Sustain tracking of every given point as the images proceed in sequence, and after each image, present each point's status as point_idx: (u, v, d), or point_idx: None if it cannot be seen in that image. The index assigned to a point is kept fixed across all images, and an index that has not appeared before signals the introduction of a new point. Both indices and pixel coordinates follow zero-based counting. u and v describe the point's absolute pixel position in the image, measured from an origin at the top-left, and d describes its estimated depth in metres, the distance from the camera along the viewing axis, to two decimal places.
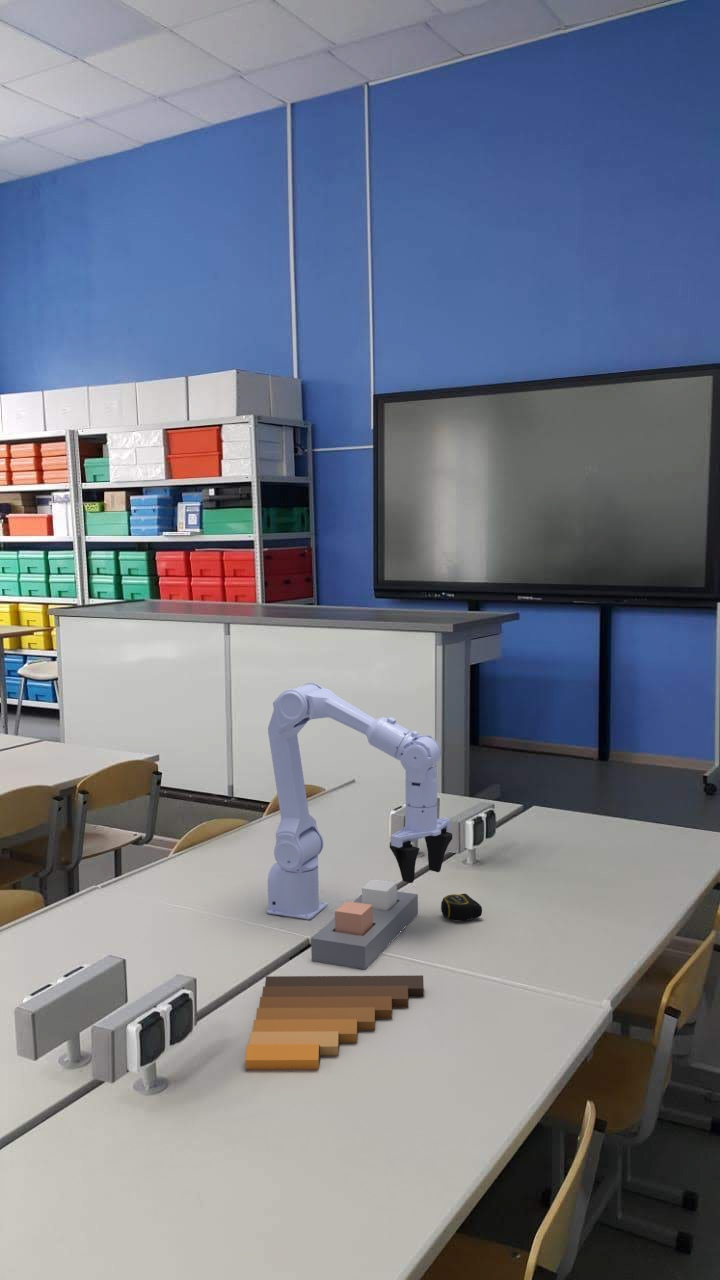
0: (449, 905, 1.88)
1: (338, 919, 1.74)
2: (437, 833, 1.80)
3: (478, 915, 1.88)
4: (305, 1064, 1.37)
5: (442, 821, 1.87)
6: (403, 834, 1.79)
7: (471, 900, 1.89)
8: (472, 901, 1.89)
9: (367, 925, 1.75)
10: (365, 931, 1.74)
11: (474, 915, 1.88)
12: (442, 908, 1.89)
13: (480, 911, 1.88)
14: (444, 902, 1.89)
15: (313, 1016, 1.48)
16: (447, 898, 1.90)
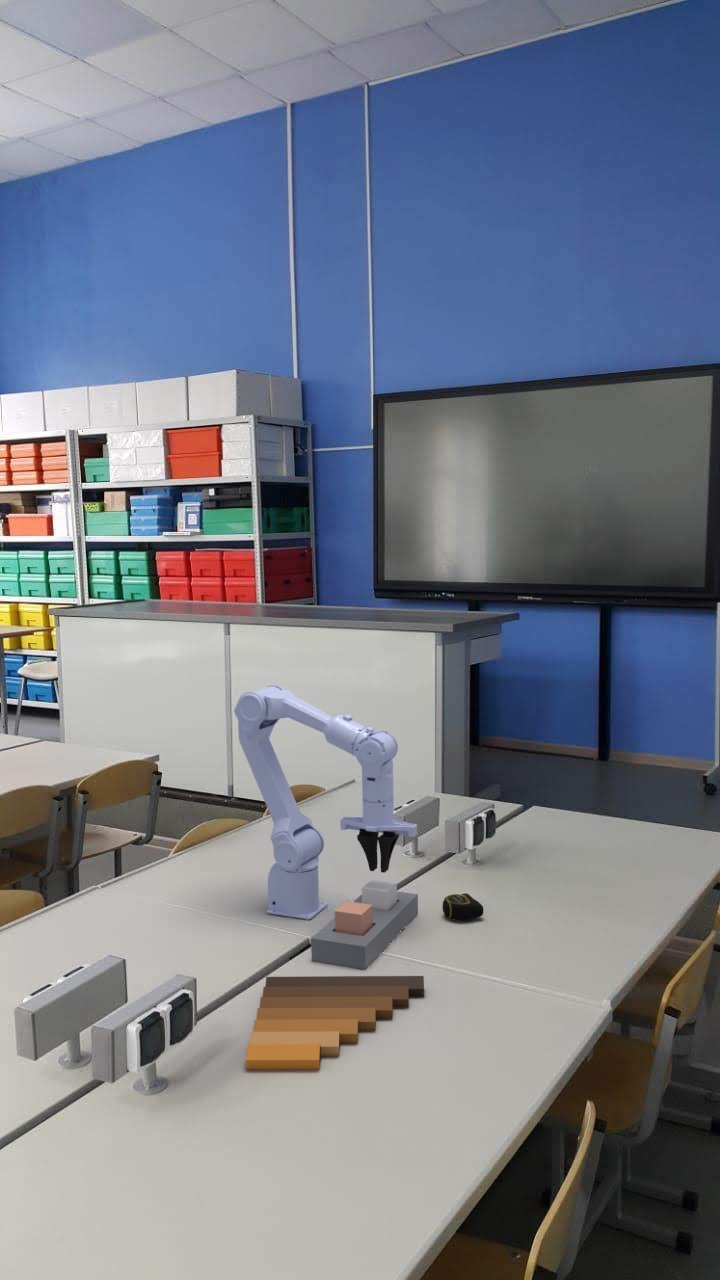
0: (450, 904, 1.88)
1: (338, 919, 1.74)
2: (368, 829, 1.82)
3: (479, 915, 1.88)
4: (306, 1064, 1.37)
5: None
6: (352, 819, 1.87)
7: (472, 900, 1.89)
8: (474, 901, 1.89)
9: (367, 925, 1.75)
10: (365, 931, 1.74)
11: (475, 915, 1.88)
12: (443, 908, 1.89)
13: (482, 910, 1.88)
14: (445, 902, 1.89)
15: (314, 1016, 1.48)
16: (448, 898, 1.91)
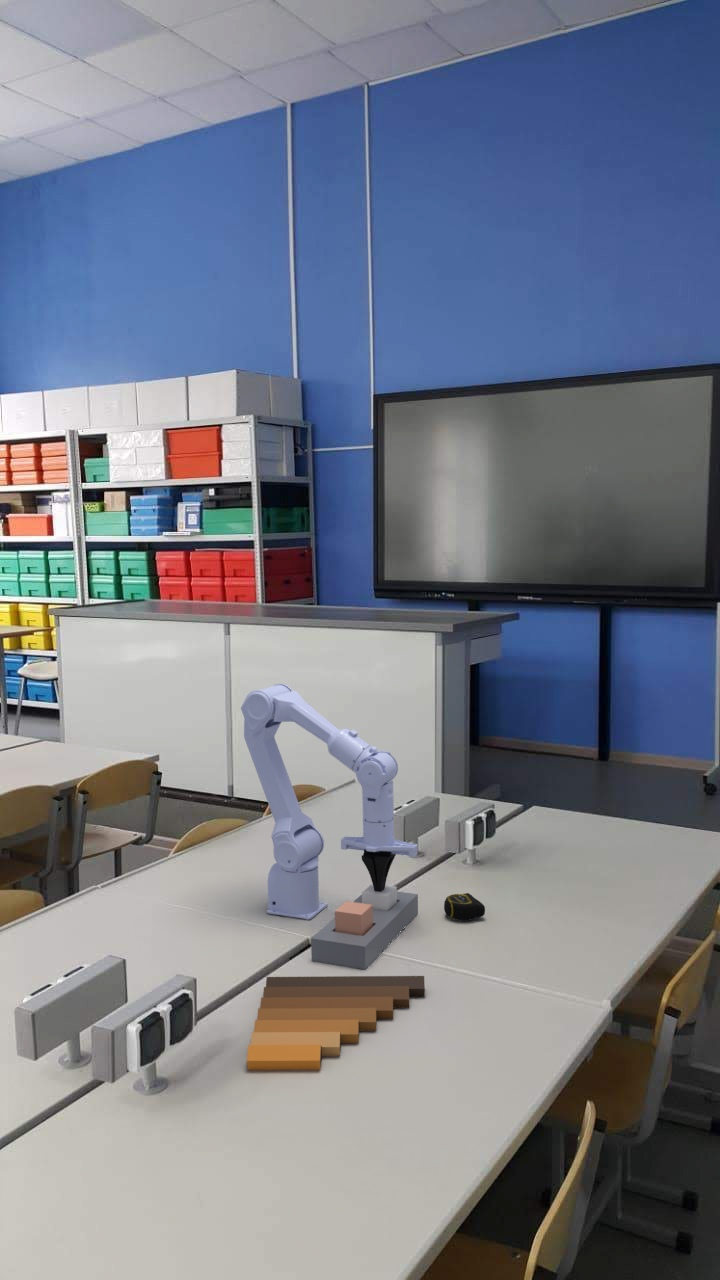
0: (452, 904, 1.88)
1: (338, 919, 1.74)
2: (369, 849, 1.82)
3: (481, 915, 1.88)
4: (307, 1065, 1.37)
5: (408, 846, 1.83)
6: (352, 839, 1.88)
7: (474, 900, 1.90)
8: (475, 901, 1.89)
9: (367, 925, 1.75)
10: (365, 931, 1.74)
11: (477, 915, 1.88)
12: (445, 908, 1.89)
13: (483, 910, 1.88)
14: (447, 902, 1.89)
15: (314, 1017, 1.48)
16: (450, 898, 1.91)
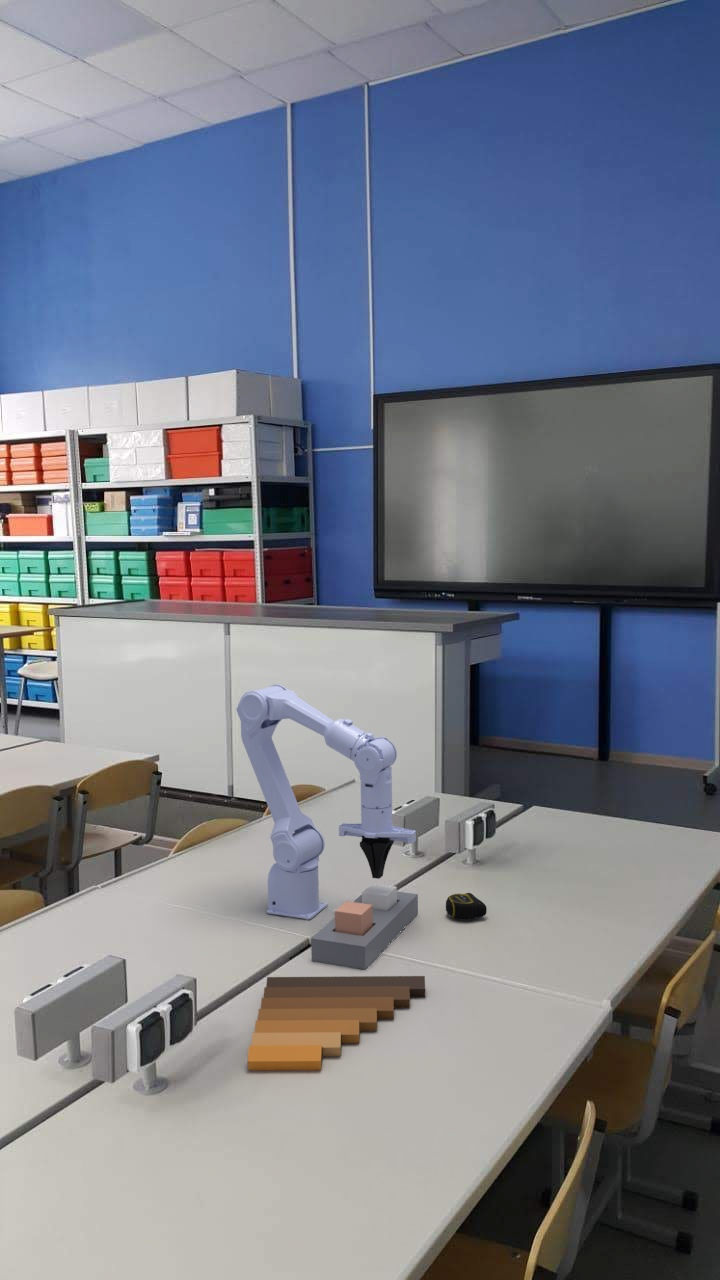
0: (453, 904, 1.88)
1: (338, 919, 1.74)
2: (367, 835, 1.81)
3: (483, 914, 1.88)
4: (308, 1065, 1.37)
5: (406, 832, 1.82)
6: (350, 826, 1.87)
7: (476, 899, 1.90)
8: (477, 900, 1.89)
9: (367, 925, 1.75)
10: (365, 931, 1.74)
11: (479, 914, 1.88)
12: (447, 907, 1.89)
13: (485, 910, 1.88)
14: (449, 901, 1.89)
15: (315, 1017, 1.48)
16: (452, 897, 1.91)
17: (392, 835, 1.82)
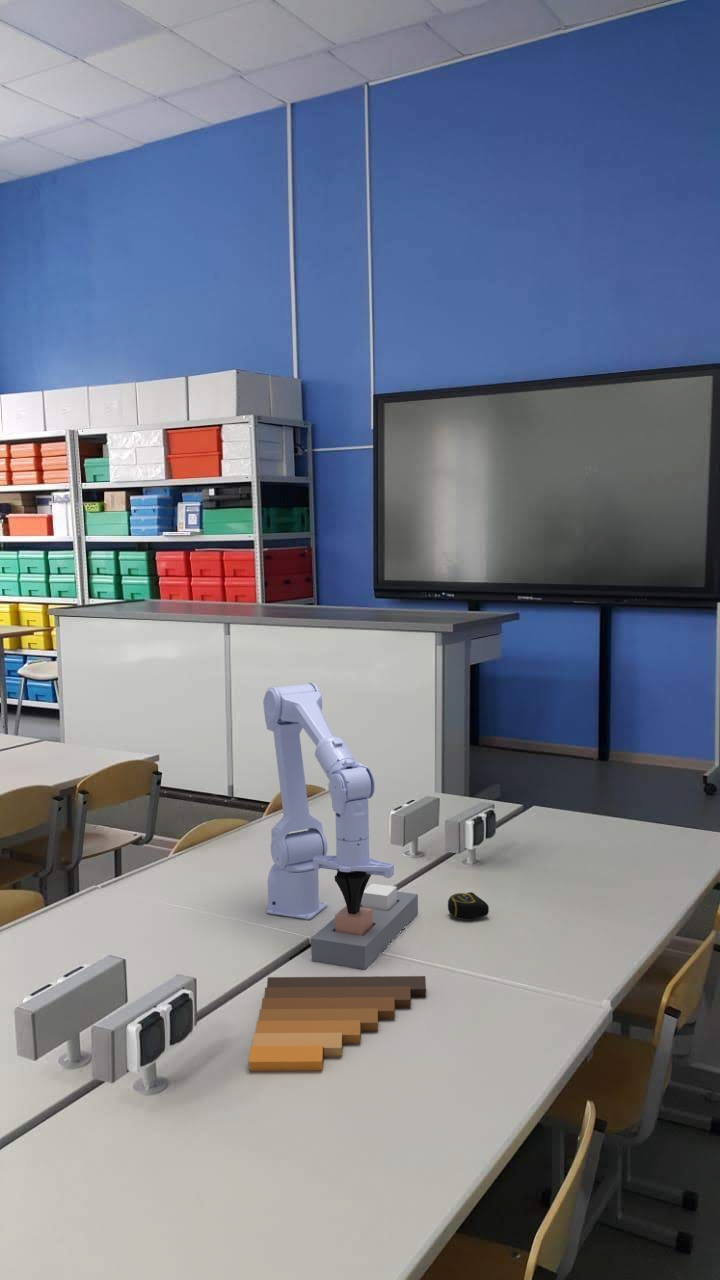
0: (456, 903, 1.88)
1: (338, 923, 1.74)
2: (342, 869, 1.71)
3: (485, 914, 1.88)
4: (309, 1065, 1.37)
5: (383, 866, 1.72)
6: (325, 858, 1.77)
7: (478, 899, 1.90)
8: (479, 900, 1.90)
9: (367, 929, 1.75)
10: None
11: (481, 914, 1.88)
12: (449, 907, 1.90)
13: (487, 909, 1.88)
14: (451, 901, 1.89)
15: (316, 1017, 1.48)
16: (454, 897, 1.91)
17: (368, 869, 1.72)
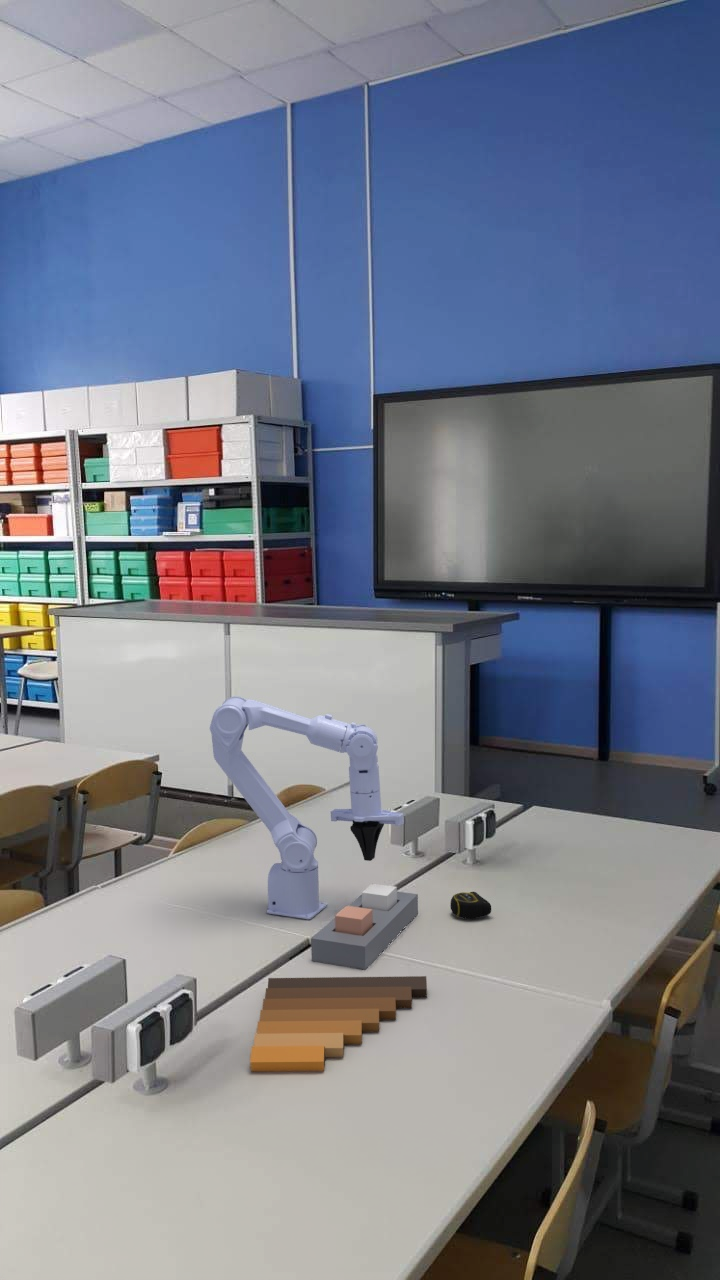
0: (458, 903, 1.89)
1: (338, 924, 1.74)
2: (356, 819, 1.89)
3: (487, 913, 1.89)
4: (311, 1066, 1.37)
5: (394, 815, 1.90)
6: (341, 811, 1.95)
7: (480, 898, 1.90)
8: (482, 899, 1.90)
9: (367, 929, 1.75)
10: None
11: (483, 913, 1.88)
12: (451, 906, 1.90)
13: (489, 909, 1.89)
14: (453, 900, 1.90)
15: (317, 1018, 1.47)
16: (456, 896, 1.91)
17: (380, 818, 1.89)
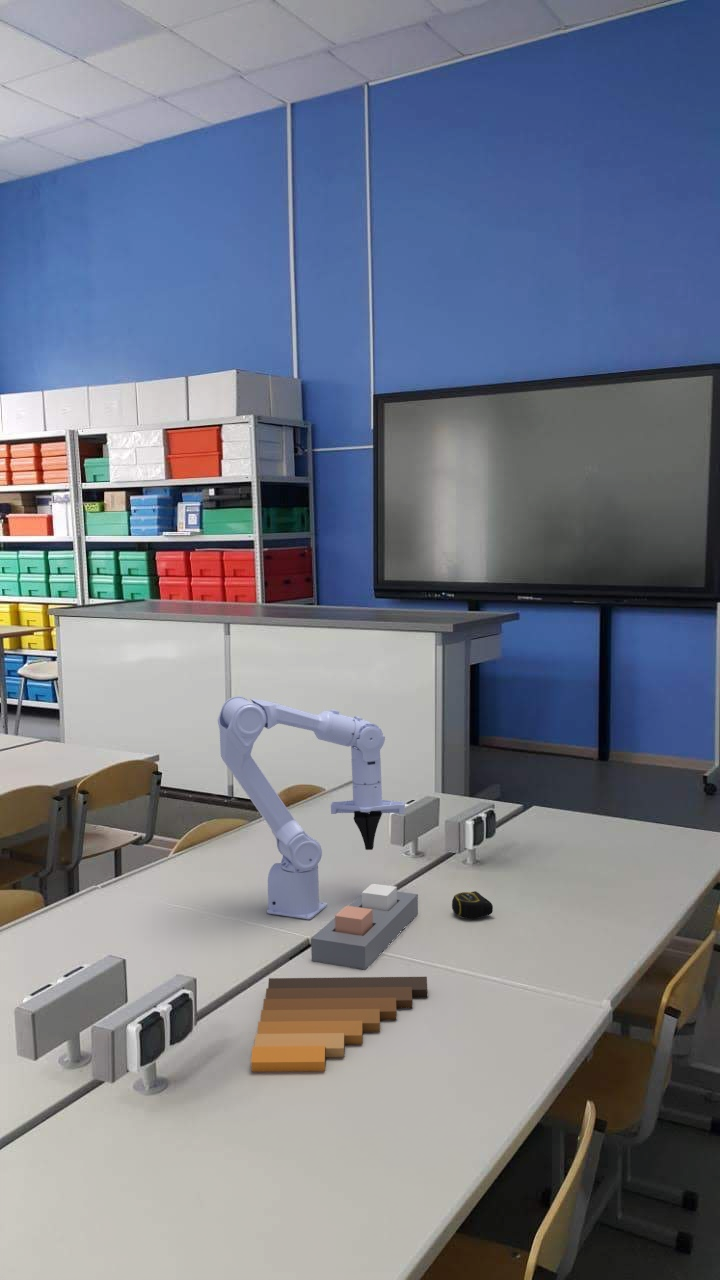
0: (460, 902, 1.89)
1: (338, 924, 1.74)
2: (363, 810, 1.94)
3: (489, 913, 1.89)
4: (311, 1066, 1.37)
5: (397, 804, 1.97)
6: (341, 803, 1.99)
7: (482, 898, 1.90)
8: (483, 899, 1.90)
9: (367, 929, 1.75)
10: None
11: (485, 913, 1.89)
12: (453, 906, 1.90)
13: (491, 908, 1.89)
14: (455, 900, 1.90)
15: (318, 1018, 1.47)
16: (458, 896, 1.91)
17: (385, 808, 1.96)
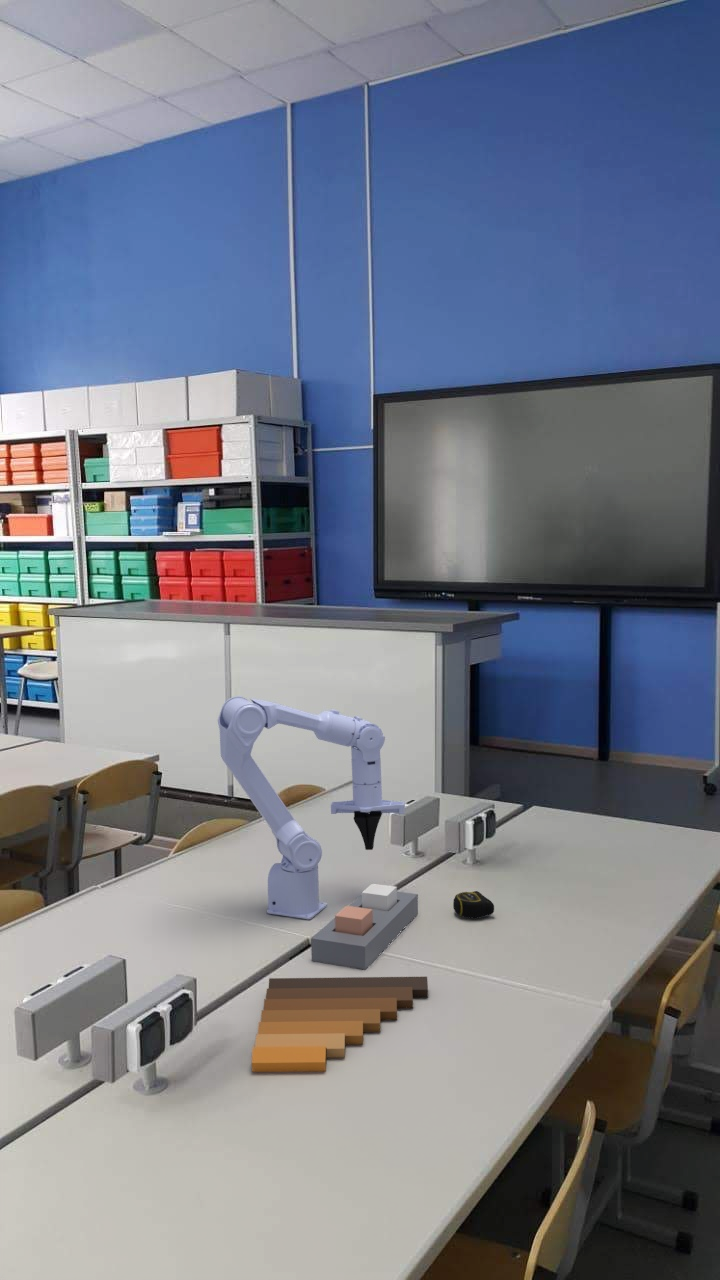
0: (461, 902, 1.89)
1: (338, 924, 1.74)
2: (363, 810, 1.94)
3: (490, 912, 1.89)
4: (312, 1066, 1.36)
5: (397, 804, 1.97)
6: (341, 803, 1.99)
7: (483, 898, 1.91)
8: (485, 898, 1.90)
9: (367, 929, 1.75)
10: None
11: (486, 912, 1.89)
12: (454, 905, 1.90)
13: (492, 908, 1.89)
14: (456, 899, 1.90)
15: (318, 1018, 1.47)
16: (459, 895, 1.92)
17: (385, 808, 1.96)
